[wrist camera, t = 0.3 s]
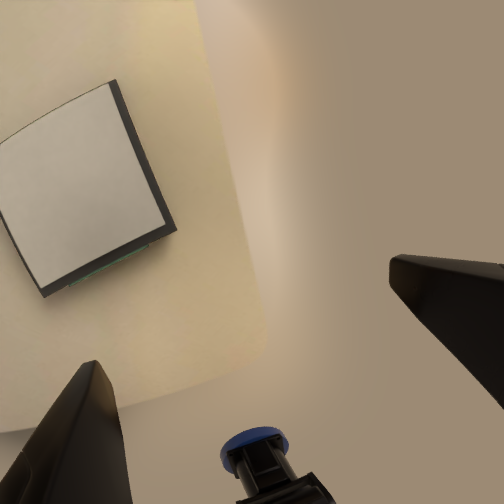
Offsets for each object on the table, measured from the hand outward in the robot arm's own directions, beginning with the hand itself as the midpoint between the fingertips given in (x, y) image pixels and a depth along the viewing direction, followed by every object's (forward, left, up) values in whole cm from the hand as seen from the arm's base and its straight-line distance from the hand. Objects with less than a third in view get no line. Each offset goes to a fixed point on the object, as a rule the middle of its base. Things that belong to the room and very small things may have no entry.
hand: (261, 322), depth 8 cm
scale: (+4, +7, -14) cm, 16 cm away
